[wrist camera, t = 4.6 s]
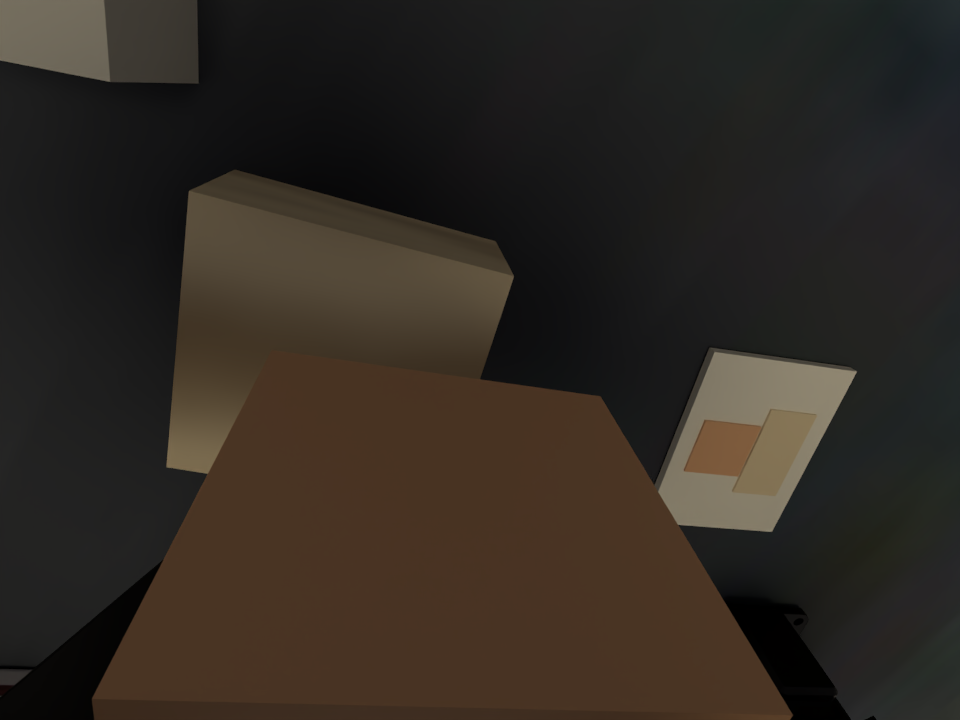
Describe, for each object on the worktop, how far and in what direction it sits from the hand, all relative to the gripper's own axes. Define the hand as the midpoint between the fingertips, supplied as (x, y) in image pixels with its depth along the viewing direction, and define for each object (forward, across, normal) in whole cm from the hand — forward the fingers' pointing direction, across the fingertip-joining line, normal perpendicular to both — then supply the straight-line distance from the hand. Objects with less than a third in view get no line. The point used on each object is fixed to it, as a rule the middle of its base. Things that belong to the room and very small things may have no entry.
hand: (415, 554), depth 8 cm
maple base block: (+12, +2, +1) cm, 12 cm away
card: (+11, -14, +4) cm, 18 cm away
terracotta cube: (+1, 0, 0) cm, 1 cm away
